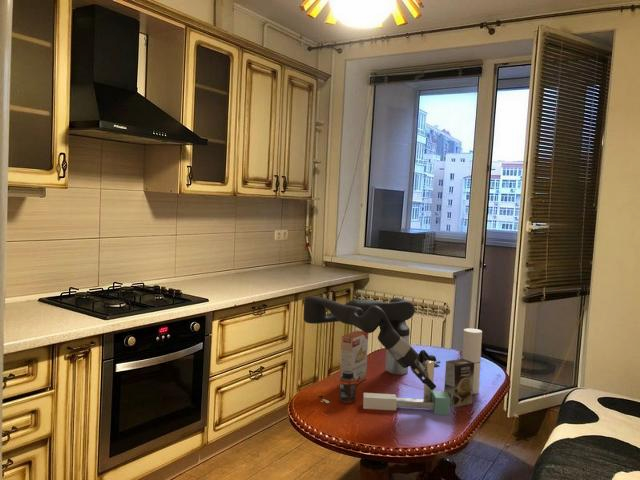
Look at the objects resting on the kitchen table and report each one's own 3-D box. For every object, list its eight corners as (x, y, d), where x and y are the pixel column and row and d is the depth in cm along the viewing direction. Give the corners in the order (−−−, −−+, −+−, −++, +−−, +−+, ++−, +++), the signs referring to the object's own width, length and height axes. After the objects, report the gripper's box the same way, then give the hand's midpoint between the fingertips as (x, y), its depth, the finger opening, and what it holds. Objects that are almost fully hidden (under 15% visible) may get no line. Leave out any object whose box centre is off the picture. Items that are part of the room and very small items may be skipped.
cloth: (435, 371, 236) (436, 358, 236) (398, 363, 246) (398, 351, 245) (450, 360, 255) (451, 347, 255) (415, 353, 265) (415, 341, 264)
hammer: (387, 406, 189) (389, 361, 188) (387, 403, 192) (389, 358, 191) (442, 409, 188) (444, 363, 187) (440, 406, 191) (442, 361, 190)
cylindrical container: (479, 394, 207) (483, 333, 205) (461, 392, 208) (464, 331, 207) (477, 388, 214) (481, 329, 212) (460, 386, 215) (463, 327, 214)
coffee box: (454, 407, 193) (456, 365, 191) (443, 401, 198) (445, 360, 197) (472, 404, 197) (475, 362, 196) (461, 398, 202) (463, 357, 201)
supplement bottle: (357, 399, 198) (358, 370, 197) (352, 405, 192) (353, 375, 191) (342, 397, 200) (343, 368, 199) (337, 402, 194) (338, 373, 193)
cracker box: (351, 389, 208) (353, 338, 207) (338, 386, 212) (340, 335, 210) (367, 379, 220) (369, 331, 219) (354, 376, 224) (356, 329, 222)
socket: (434, 413, 186) (435, 397, 186) (431, 406, 193) (432, 390, 193) (449, 414, 186) (450, 398, 185) (445, 407, 193) (446, 391, 192)
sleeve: (363, 408, 189) (363, 397, 189) (363, 403, 194) (363, 392, 193) (396, 410, 188) (396, 399, 188) (395, 405, 193) (395, 394, 193)
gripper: (393, 353, 196) (422, 384, 196) (396, 364, 182) (427, 398, 182) (407, 340, 196) (437, 371, 196) (411, 350, 181) (443, 384, 181)
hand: (432, 384), depth 189 cm, fingers open, 8 cm apart
